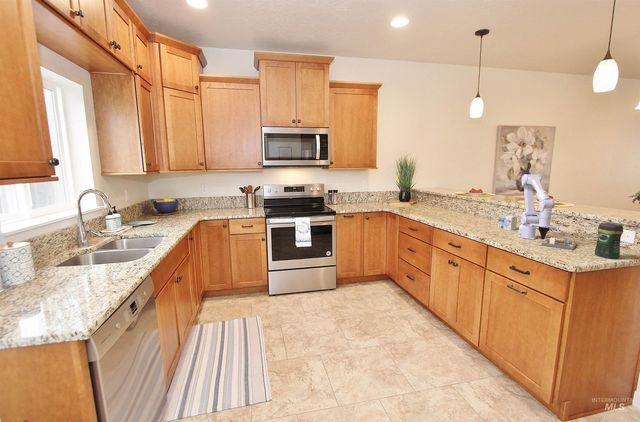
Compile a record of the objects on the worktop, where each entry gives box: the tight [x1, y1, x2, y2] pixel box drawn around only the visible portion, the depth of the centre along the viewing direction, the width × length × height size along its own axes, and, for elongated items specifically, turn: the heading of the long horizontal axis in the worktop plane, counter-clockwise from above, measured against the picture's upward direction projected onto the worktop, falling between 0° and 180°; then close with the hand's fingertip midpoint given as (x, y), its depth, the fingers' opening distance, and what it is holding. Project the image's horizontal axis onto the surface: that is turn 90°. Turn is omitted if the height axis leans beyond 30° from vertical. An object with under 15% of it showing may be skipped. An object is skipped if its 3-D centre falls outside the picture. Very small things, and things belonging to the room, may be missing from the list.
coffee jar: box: [594, 222, 624, 260], centre depth 160 cm, size 10×8×19 cm
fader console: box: [541, 238, 578, 251], centre depth 185 cm, size 15×18×2 cm
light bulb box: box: [497, 214, 518, 231], centre depth 232 cm, size 11×7×11 cm, turn 25°
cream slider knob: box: [563, 236, 571, 244], centre depth 185 cm, size 2×3×4 cm
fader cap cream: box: [549, 237, 557, 244], centre depth 184 cm, size 2×3×4 cm
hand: (542, 239), depth 187 cm, fingers closed
